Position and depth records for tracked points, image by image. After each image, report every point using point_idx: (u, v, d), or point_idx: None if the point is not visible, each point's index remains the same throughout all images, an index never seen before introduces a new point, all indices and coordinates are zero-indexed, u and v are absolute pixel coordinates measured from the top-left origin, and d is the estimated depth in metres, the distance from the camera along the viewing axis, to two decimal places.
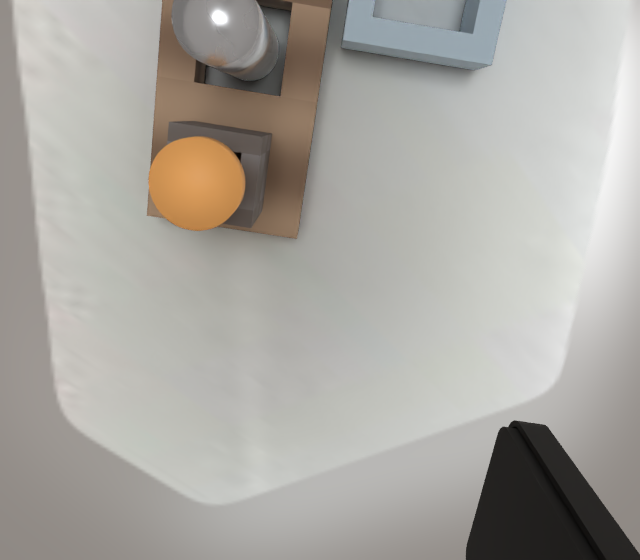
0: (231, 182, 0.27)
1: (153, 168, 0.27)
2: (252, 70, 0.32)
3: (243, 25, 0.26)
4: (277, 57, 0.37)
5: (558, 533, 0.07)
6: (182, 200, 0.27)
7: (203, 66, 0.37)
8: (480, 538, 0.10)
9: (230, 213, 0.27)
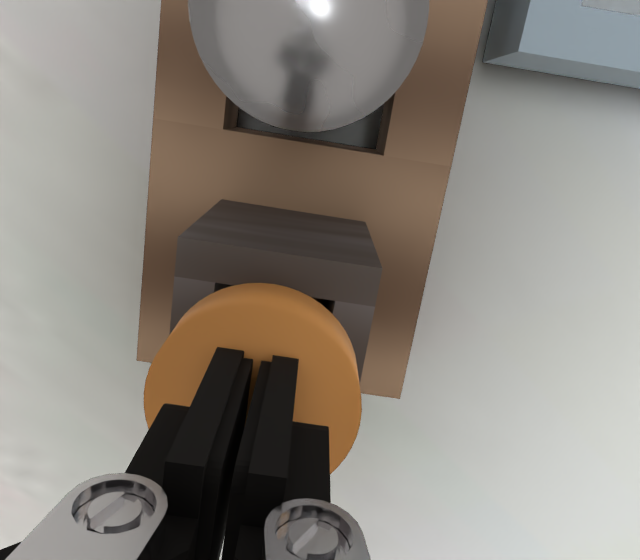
0: (339, 403, 0.11)
1: (155, 373, 0.11)
2: None
3: (384, 25, 0.09)
4: None
5: (243, 436, 0.08)
6: None
7: None
8: None
9: (332, 467, 0.12)
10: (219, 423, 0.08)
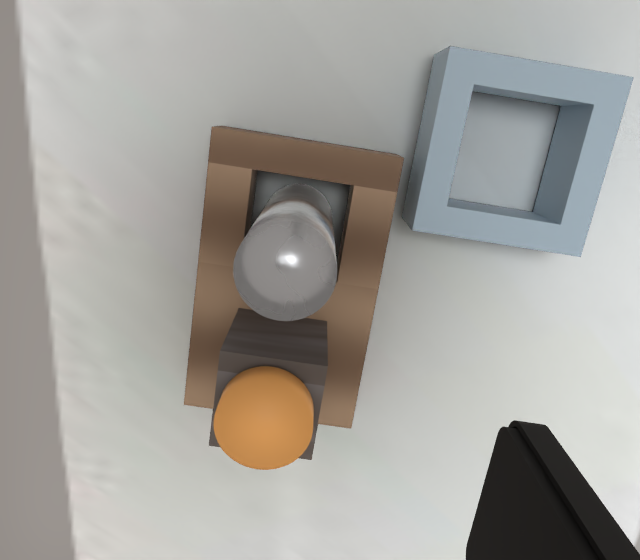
0: (302, 424, 0.25)
1: (219, 410, 0.25)
2: None
3: (318, 279, 0.22)
4: None
5: (558, 534, 0.07)
6: (249, 441, 0.25)
7: None
8: (480, 538, 0.10)
9: (300, 453, 0.25)
10: None
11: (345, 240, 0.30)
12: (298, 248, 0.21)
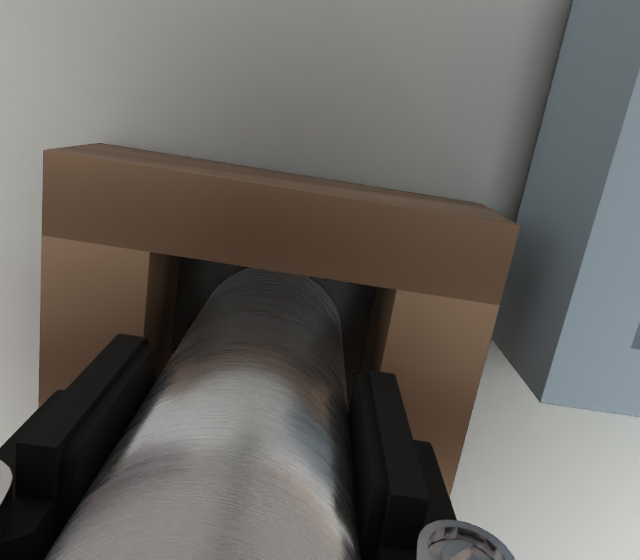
0: None
1: None
2: None
3: None
4: None
5: (364, 454, 0.09)
6: None
7: None
8: None
9: None
10: (91, 406, 0.08)
11: None
12: None
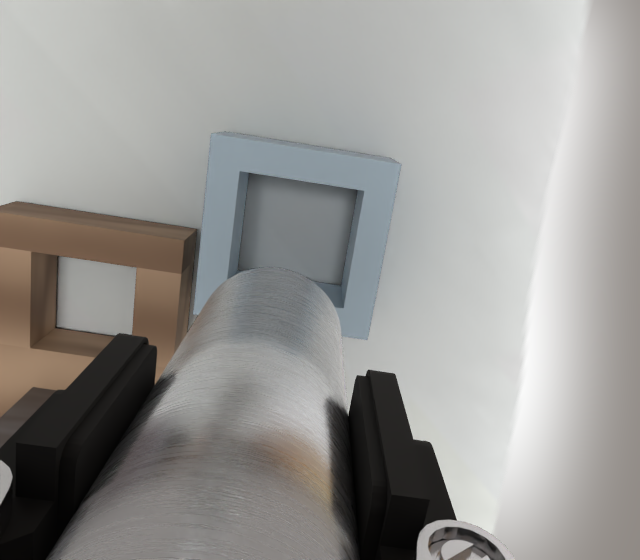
0: None
1: None
2: None
3: None
4: None
5: (365, 454, 0.09)
6: None
7: (50, 314, 0.32)
8: None
9: None
10: (91, 406, 0.08)
11: (134, 321, 0.30)
12: None
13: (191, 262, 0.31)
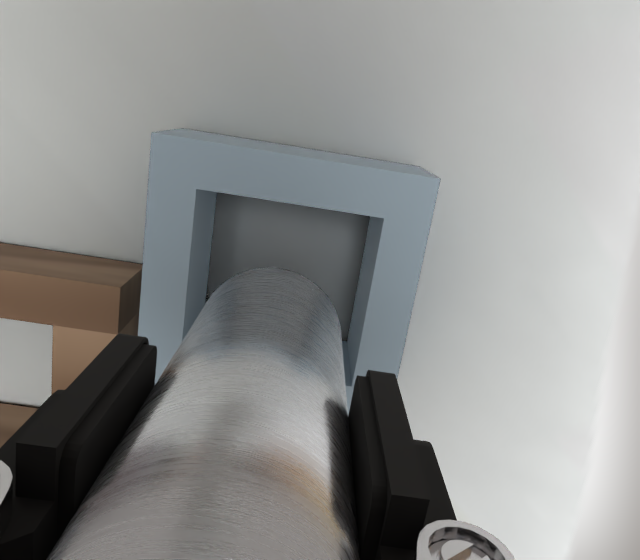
0: None
1: None
2: None
3: None
4: None
5: (365, 455, 0.09)
6: None
7: None
8: None
9: None
10: (91, 406, 0.08)
11: None
12: None
13: (138, 311, 0.22)
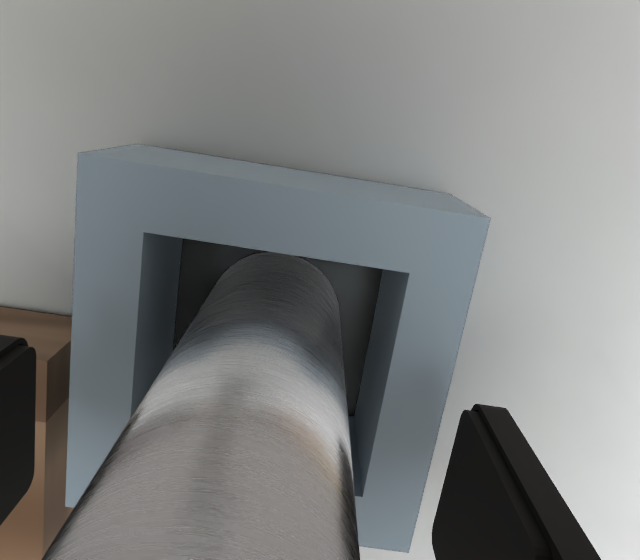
0: None
1: None
2: None
3: None
4: None
5: (506, 506, 0.08)
6: None
7: None
8: (444, 517, 0.10)
9: None
10: None
11: None
12: None
13: None
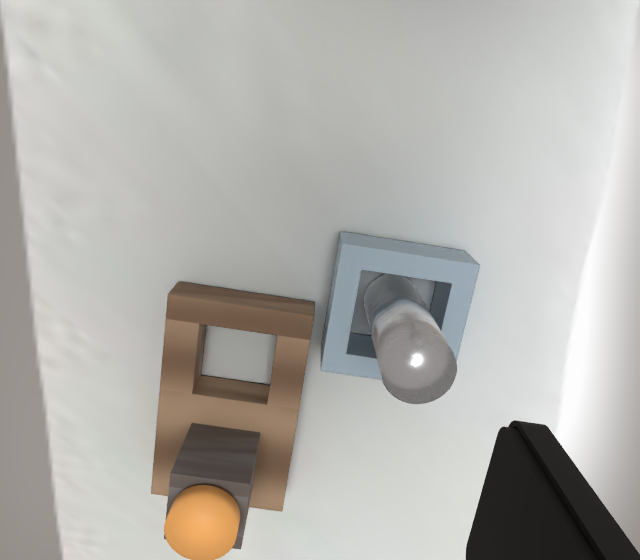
0: (229, 529, 0.34)
1: (168, 520, 0.34)
2: None
3: (442, 374, 0.30)
4: None
5: (557, 533, 0.07)
6: (190, 541, 0.34)
7: (200, 365, 0.42)
8: (480, 538, 0.10)
9: (228, 550, 0.35)
10: None
11: (272, 374, 0.40)
12: (429, 353, 0.29)
13: None
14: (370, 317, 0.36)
